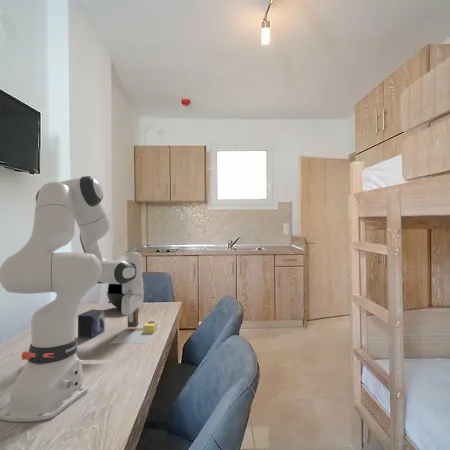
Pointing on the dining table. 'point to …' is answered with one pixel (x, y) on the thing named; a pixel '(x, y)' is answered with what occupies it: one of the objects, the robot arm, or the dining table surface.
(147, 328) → the block
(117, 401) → the dining table surface
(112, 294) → the coal bowl
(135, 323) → the wooden block with knob
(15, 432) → the dining table surface
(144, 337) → the board
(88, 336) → the small box
